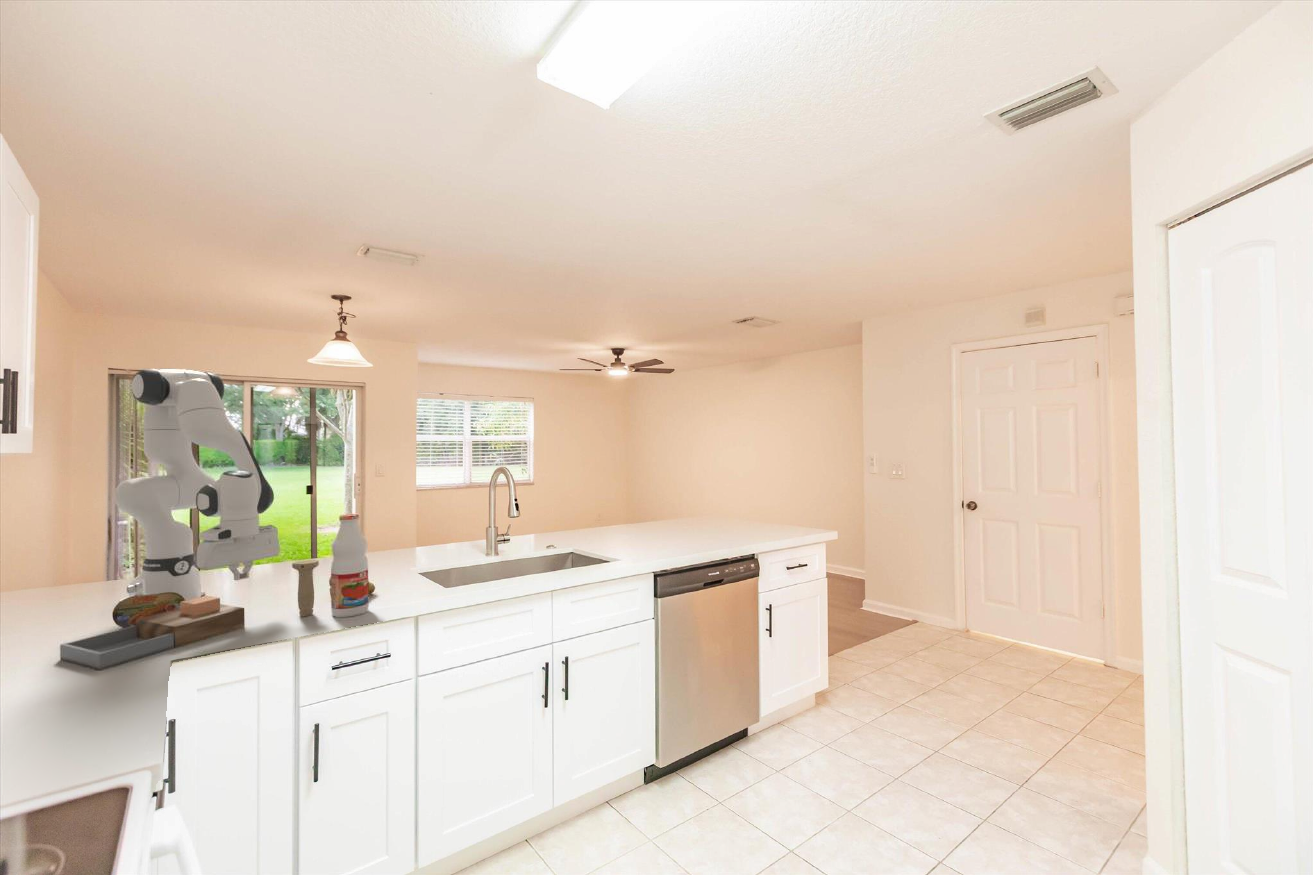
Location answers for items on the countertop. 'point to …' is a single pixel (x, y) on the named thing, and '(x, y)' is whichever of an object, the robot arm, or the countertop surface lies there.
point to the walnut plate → (190, 624)
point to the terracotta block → (199, 605)
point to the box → (113, 648)
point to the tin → (144, 607)
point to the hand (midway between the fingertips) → (241, 579)
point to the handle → (305, 585)
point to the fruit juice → (349, 569)
